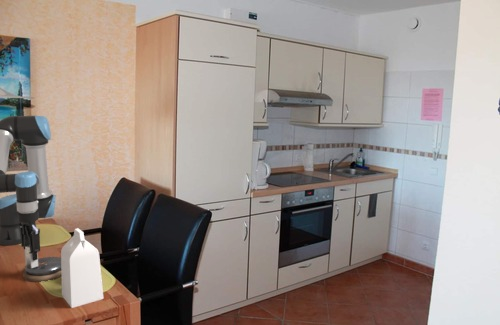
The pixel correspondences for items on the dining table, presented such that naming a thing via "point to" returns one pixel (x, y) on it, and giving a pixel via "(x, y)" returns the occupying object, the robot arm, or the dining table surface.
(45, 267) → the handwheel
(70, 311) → the dining table surface
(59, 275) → the wheel base
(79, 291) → the milk
